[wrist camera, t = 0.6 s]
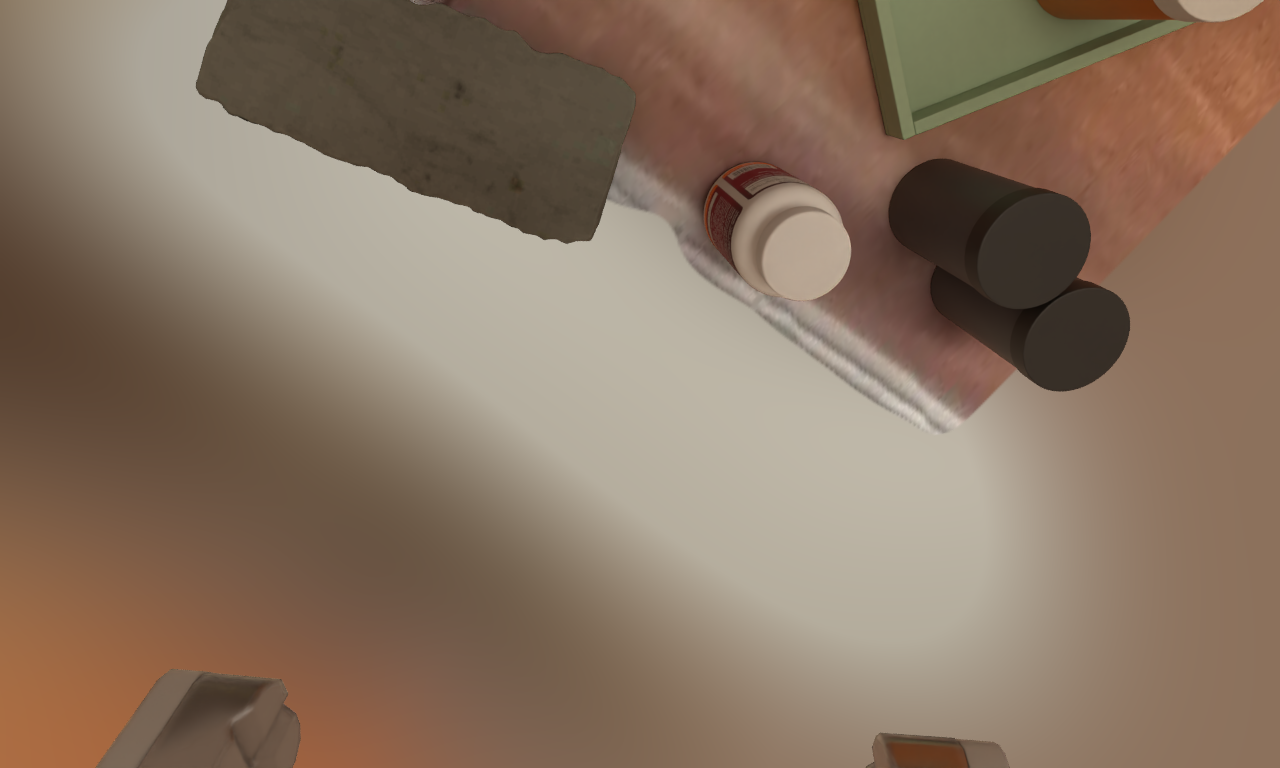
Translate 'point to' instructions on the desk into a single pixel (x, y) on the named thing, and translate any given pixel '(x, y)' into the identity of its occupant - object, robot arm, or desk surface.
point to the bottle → (1149, 9)
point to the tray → (979, 54)
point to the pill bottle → (777, 231)
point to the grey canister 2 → (1043, 330)
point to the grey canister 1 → (991, 231)
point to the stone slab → (428, 104)
